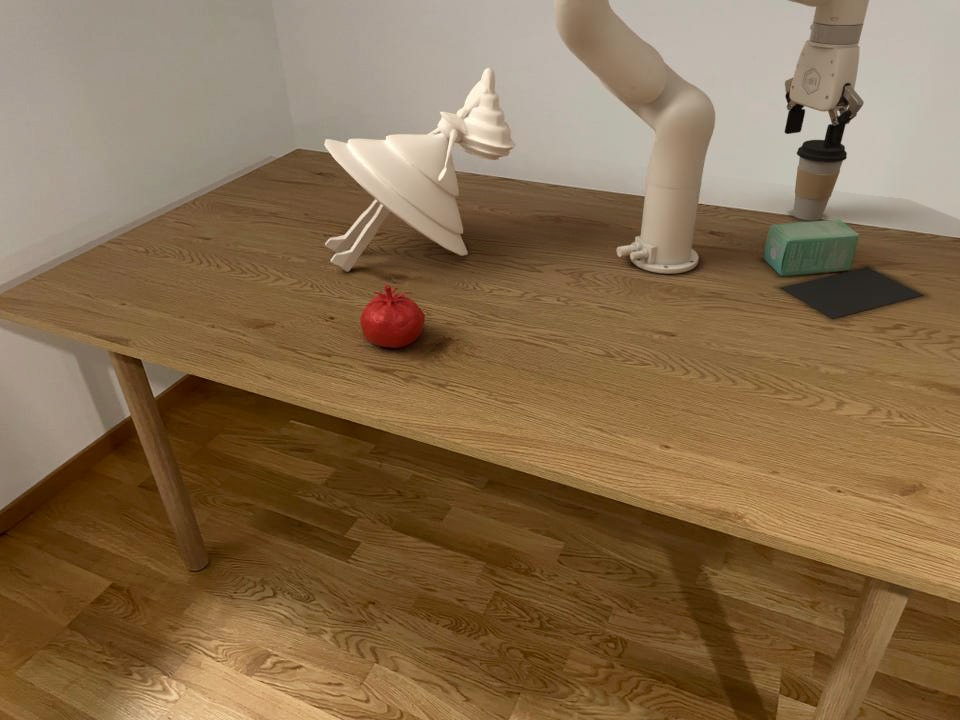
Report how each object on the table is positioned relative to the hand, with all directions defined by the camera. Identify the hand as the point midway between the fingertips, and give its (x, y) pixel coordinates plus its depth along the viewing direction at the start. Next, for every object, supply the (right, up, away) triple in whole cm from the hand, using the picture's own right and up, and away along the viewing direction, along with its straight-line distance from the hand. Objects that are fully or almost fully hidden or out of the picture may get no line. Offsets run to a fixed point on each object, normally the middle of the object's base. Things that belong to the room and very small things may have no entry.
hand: (811, 139), depth 127 cm
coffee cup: (+11, -8, +27) cm, 30 cm away
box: (+2, -22, +7) cm, 23 cm away
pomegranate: (-72, -36, -12) cm, 81 cm away
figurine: (-70, -17, +16) cm, 74 cm away
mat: (+6, -27, -2) cm, 28 cm away
